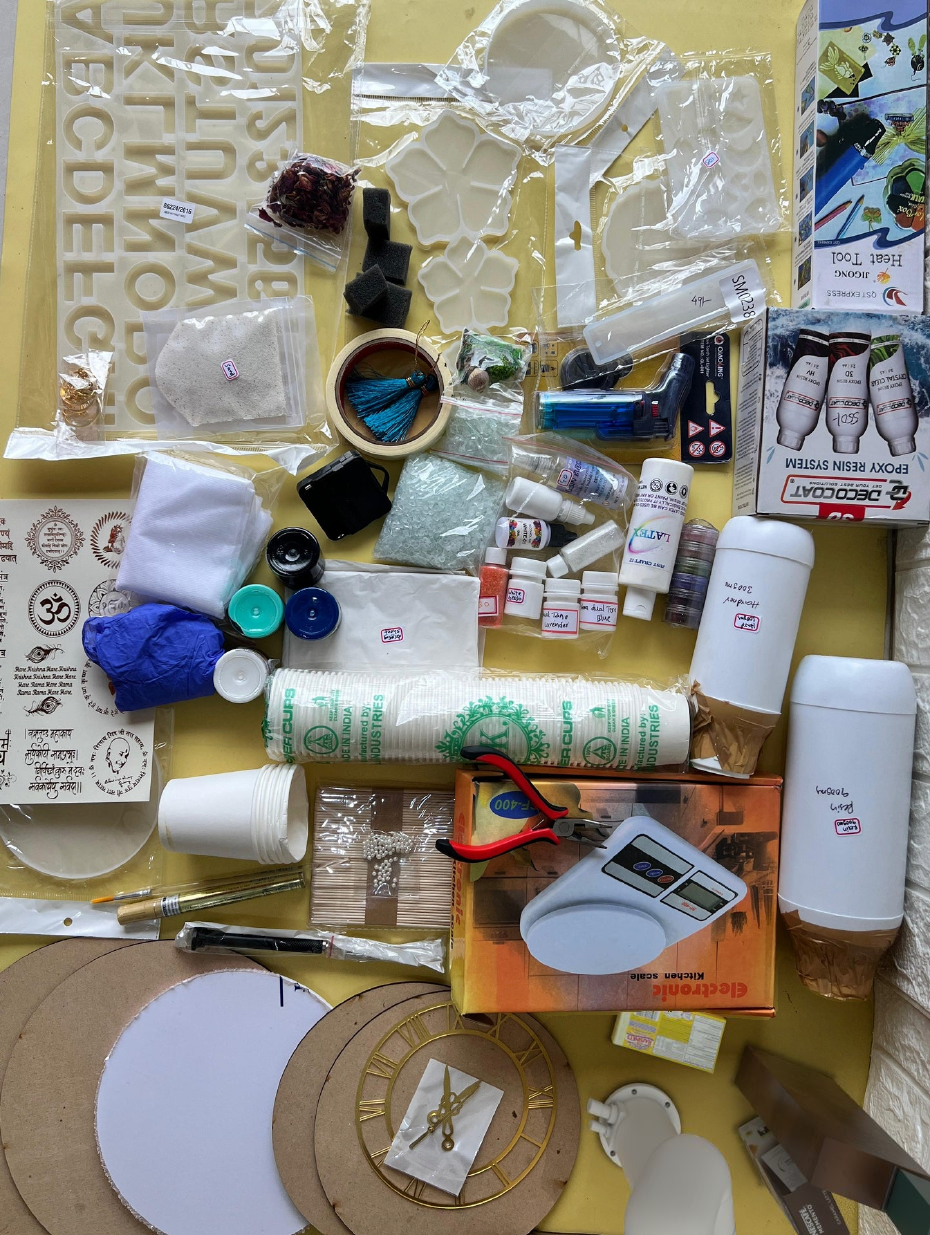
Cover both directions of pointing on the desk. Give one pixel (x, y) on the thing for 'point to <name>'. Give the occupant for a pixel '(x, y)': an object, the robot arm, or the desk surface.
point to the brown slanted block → (824, 1130)
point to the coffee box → (791, 1185)
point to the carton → (910, 1204)
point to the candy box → (672, 1036)
